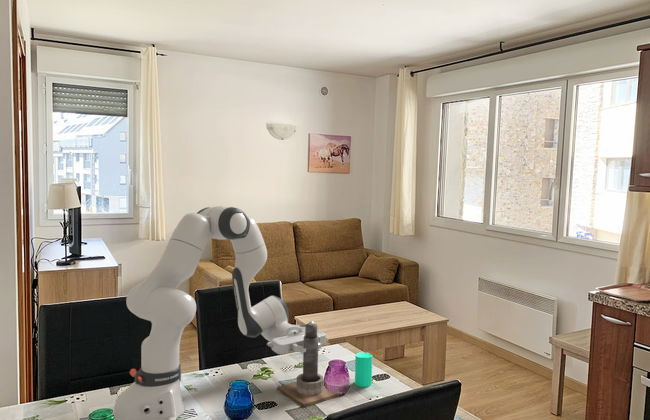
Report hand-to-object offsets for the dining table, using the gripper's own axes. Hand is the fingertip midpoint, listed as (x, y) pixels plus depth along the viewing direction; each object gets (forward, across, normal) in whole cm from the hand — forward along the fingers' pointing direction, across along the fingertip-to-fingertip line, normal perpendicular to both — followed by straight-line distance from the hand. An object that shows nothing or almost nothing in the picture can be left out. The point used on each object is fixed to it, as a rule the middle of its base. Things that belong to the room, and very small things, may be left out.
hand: (312, 348), depth 169 cm
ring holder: (-1, 0, +16) cm, 16 cm away
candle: (+4, +20, +16) cm, 26 cm away
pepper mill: (-1, 0, +12) cm, 12 cm away
